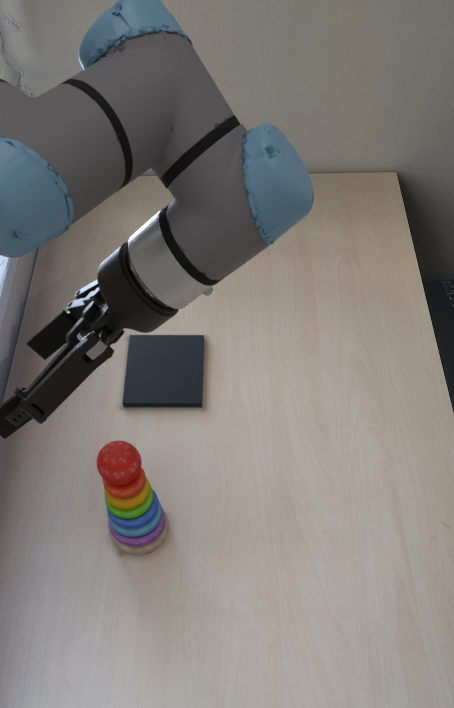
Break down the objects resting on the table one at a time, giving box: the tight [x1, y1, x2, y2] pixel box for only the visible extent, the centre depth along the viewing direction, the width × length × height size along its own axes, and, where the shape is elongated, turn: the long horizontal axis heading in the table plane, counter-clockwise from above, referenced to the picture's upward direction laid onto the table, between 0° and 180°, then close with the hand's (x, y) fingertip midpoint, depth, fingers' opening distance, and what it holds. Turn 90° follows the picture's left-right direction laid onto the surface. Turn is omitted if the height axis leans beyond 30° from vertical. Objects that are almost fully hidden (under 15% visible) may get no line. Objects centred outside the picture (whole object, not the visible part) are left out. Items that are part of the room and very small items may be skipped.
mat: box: [122, 334, 205, 408], centre depth 100 cm, size 12×14×1 cm
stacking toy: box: [96, 440, 170, 555], centre depth 79 cm, size 8×8×19 cm
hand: (17, 386), depth 69 cm, fingers open, 13 cm apart
